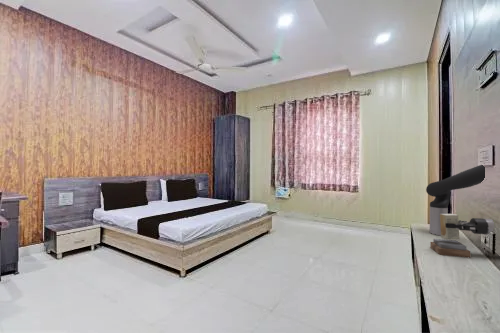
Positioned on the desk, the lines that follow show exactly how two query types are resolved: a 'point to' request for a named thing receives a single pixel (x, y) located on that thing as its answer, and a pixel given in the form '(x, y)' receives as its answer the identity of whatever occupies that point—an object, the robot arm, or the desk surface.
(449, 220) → the skincare box
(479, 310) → the desk surface
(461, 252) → the metal plate on wood
